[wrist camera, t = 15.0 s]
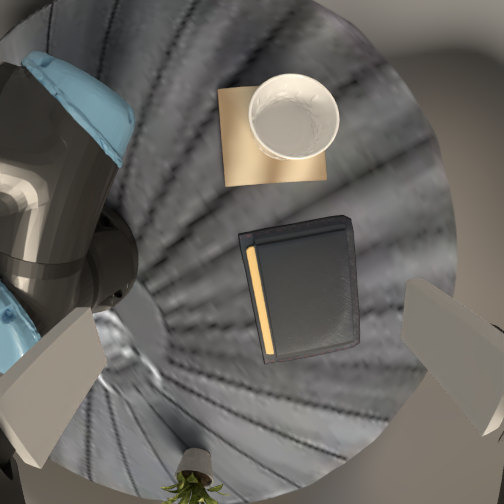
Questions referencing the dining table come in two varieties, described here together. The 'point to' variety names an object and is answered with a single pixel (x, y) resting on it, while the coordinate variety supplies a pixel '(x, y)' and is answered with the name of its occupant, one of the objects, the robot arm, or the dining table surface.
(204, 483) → the house plant
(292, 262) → the black book
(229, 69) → the dining table surface
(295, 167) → the oak coaster board
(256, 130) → the white cup
